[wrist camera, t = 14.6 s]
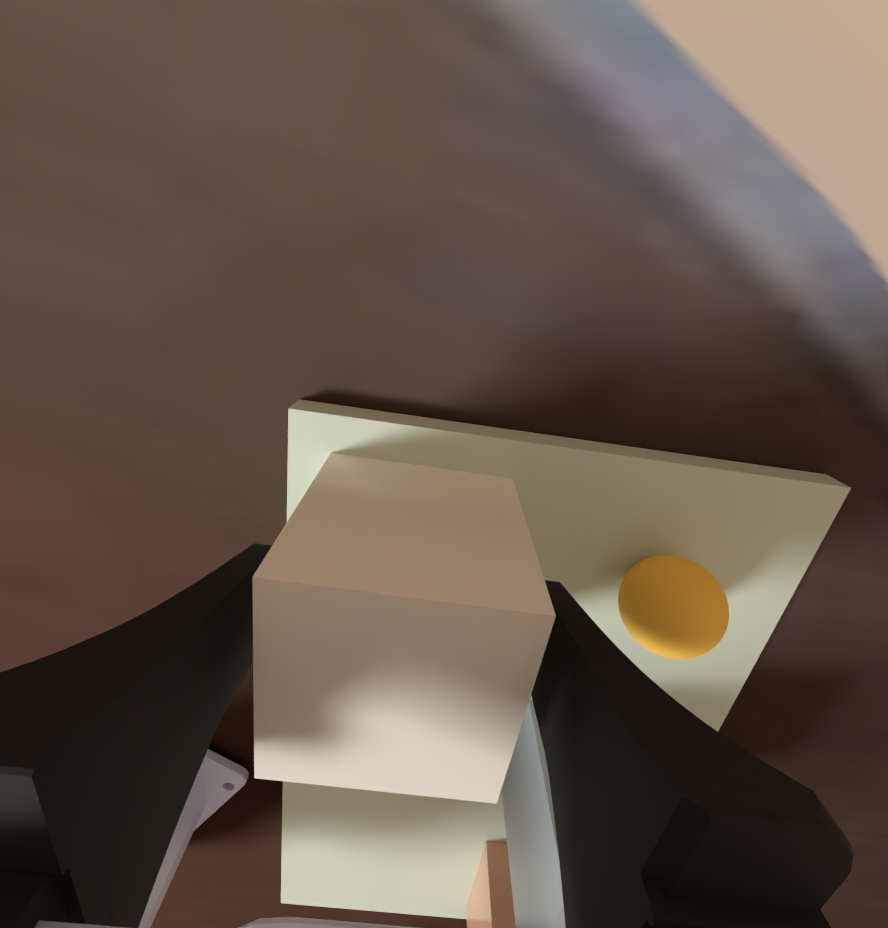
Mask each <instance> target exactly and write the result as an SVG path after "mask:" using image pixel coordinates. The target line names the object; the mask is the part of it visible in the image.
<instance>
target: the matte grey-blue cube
mask: <svg viewBox="0 0 888 928" xmlns="http://www.w3.org/2000/svg"><path fill="white" fill-rule="evenodd" d="M502 799H503V809H504V819H505V828H506V838H507V847H508V857H509V866H510V876H511V885H512V895H513V905H514V914H515V924H516V928H566V927H565V914H564V904H563V894H562V884H561V873H560V863H559V854H558V845H557V836H556V828H555V819H554V811H553V803H552V796H551V788H550V781H549V774H548V768H547V762H546V757H545V752H544V748H543V743H542V739H541V735H540V730H539V726H538V722H537V718H536V713H535V709H534V705H533V701H531V700H529V703H528V706H527V709H526V712H525V716H524V719H523V722H522V725H521V729H520V732H519V735H518V739H517V742H516V746H515V749H514V752H513V756H512V759H511V762H510V766H509V769H508V773H507V776H506V779H505V783H504V786H503V789H502Z"/></svg>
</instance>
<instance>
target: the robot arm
mask: <svg viewBox="0 0 888 928" xmlns="http://www.w3.org/2000/svg"><path fill="white" fill-rule="evenodd" d="M271 547H272V546H270V545H262V544H253V545H251V546H250V547H248V548H247V549H245V550H244V551H242V552H241V553H240V554H238V555H237V556H235V557H234V558H232V559H231V560H229V561H228V562H226V563H225V564H223V565H222V566H220V567H219V568H218V569H216V570H215V571H213V572H211V573H210V574H208V575H207V576H205V577H204V578H202V579H201V580H199V581H198V582H196V583H195V584H193V585H191V586H190V587H188V588H186V589H185V590H183V591H181V592H180V593H178V594H176V595H175V596H173V597H171V598H170V599H168V600H166V601H165V602H163V603H161V604H160V605H158V606H156V607H154V608H152V609H151V610H149V611H147V612H145V613H143V614H141V615H139V616H137V617H135V618H133V619H131V620H129V621H127V622H125V623H123V624H121V625H119V626H117V627H115V628H113V629H111V630H109V631H106V632H104V633H102V634H99V635H97V636H95V637H92V638H90V639H88V640H85V641H83V642H81V643H78V644H76V645H74V646H71V647H69V648H67V649H64V650H62V651H59V652H57V653H54V654H51V655H49V656H46V657H43V658H41V659H38V660H35V661H33V662H30V663H27V664H24V665H21V666H18V667H15V668H12V669H9V670H7V671H4V672H1V673H0V928H150V927H151V925H152V923H153V921H154V918H155V916H156V914H157V912H158V910H159V907H160V905H161V903H162V901H163V898H164V896H165V894H166V892H167V890H168V887H169V885H170V883H171V881H172V878H173V876H174V874H175V872H176V870H177V867H178V865H179V863H180V861H181V858H182V856H183V854H184V852H185V850H186V847H187V845H188V843H189V841H190V838H191V836H192V834H193V832H194V830H196V829H197V828H198V827H199V826H200V825H201V824H202V823H203V822H204V821H205V820H207V819H208V818H209V817H210V816H211V815H212V814H213V813H214V812H215V811H216V810H218V809H219V808H220V807H221V806H222V805H223V804H224V803H225V802H226V801H227V800H229V799H230V798H231V797H232V796H233V795H234V794H235V793H236V792H237V791H238V790H240V789H241V788H242V787H243V786H244V785H245V784H246V782H247V779H248V777H249V772H248V771H247V769H246V768H244V767H243V766H241V765H239V764H237V763H235V762H233V761H231V760H229V759H227V758H225V757H223V756H221V755H219V754H217V753H215V752H213V751H212V750H210V749H208V748H209V745H210V743H211V741H212V738H213V736H214V734H215V732H216V730H217V728H218V726H219V724H220V722H221V720H222V718H223V716H224V714H225V712H226V710H227V708H228V707H229V705H230V703H231V701H232V699H233V697H234V695H235V694H236V692H237V690H238V688H239V686H240V684H241V682H242V681H243V679H244V677H245V675H246V673H247V671H248V669H249V668H250V666H251V664H252V662H253V583H252V577H253V575H254V574H255V572H256V571H257V569H258V567H259V566H260V564H261V563H262V561H263V560H264V558H265V556H266V555H267V553H268V552H269V550H270V548H271ZM545 583H546V586H547V589H548V593H549V596H550V599H551V602H552V605H553V608H554V612H555V615H556V617H555V620H554V624H553V627H552V630H551V633H550V636H549V639H548V643H547V646H546V649H545V652H544V655H543V658H542V662H541V665H540V668H539V671H538V674H537V677H536V681H535V684H534V687H533V690H532V693H531V696H532V700H533V705H534V709H535V713H536V718H537V722H538V726H539V730H540V735H541V739H542V743H543V748H544V752H545V757H546V762H547V768H548V774H549V781H550V788H551V796H552V803H553V811H554V819H555V828H556V836H557V845H558V854H559V863H560V873H561V884H562V894H563V904H564V914H565V927H566V928H831V927H830V925H829V924H828V922H827V920H826V918H825V917H824V915H823V913H822V912H821V910H820V909H821V908H822V906H823V905H824V904H825V903H826V902H827V901H828V899H829V898H830V897H831V896H832V895H833V894H834V892H835V891H836V890H837V889H838V888H839V887H840V885H841V884H842V883H843V882H844V881H845V879H846V877H847V876H848V874H849V872H850V871H851V867H852V861H853V855H854V853H853V850H852V847H851V845H850V842H849V841H848V839H847V838H846V837H845V835H844V834H843V832H842V831H841V829H840V828H839V827H838V825H837V824H836V822H835V821H834V819H833V818H832V817H831V815H830V814H829V812H828V811H827V809H826V808H825V807H824V805H823V804H822V802H821V801H820V799H819V798H818V797H817V795H816V794H815V793H814V791H812V790H810V789H809V788H807V787H805V786H804V785H802V784H800V783H799V782H797V781H795V780H793V779H792V778H790V777H788V776H787V775H785V774H783V773H782V772H780V771H778V770H776V769H775V768H773V767H771V766H770V765H768V764H766V763H764V762H763V761H761V760H760V759H758V758H756V757H755V756H753V755H752V754H750V753H749V752H747V751H746V750H744V749H743V748H741V747H740V746H738V745H736V744H735V743H733V742H732V741H730V740H729V739H727V738H726V737H724V736H723V735H722V734H720V733H719V732H717V731H716V730H714V729H713V728H712V727H710V726H709V725H707V724H706V723H705V722H703V721H702V720H701V719H699V718H698V717H697V716H695V715H694V714H693V713H691V712H690V711H689V710H688V709H686V708H685V707H684V706H682V705H681V704H680V703H678V702H677V701H676V700H675V699H674V698H672V697H671V696H670V695H669V694H667V693H666V692H665V691H664V690H663V689H662V688H660V687H659V686H658V685H657V684H656V683H655V682H654V681H652V680H651V679H650V678H649V677H648V676H647V675H646V674H644V673H643V672H642V671H641V670H640V669H639V668H638V667H637V666H636V665H635V664H634V663H633V662H632V661H631V660H630V659H629V658H628V657H627V656H626V655H625V654H624V653H623V652H622V651H621V650H620V649H619V648H618V647H617V646H616V645H615V644H614V643H613V642H612V641H611V640H610V639H609V638H608V637H607V636H606V634H605V633H604V632H603V631H602V630H601V629H600V628H599V627H598V626H597V624H596V623H595V622H594V621H593V620H592V619H591V618H590V617H589V615H588V614H587V613H586V612H585V611H584V610H583V608H582V607H581V606H580V605H579V604H578V603H577V601H576V600H575V599H574V598H573V597H572V595H571V594H570V593H569V592H568V591H567V590H566V589H565V587H564V586H563V585H562V584H561V583H560V582H556V581H548V580H545ZM239 928H416V927H405V926H393V925H381V924H369V923H358V922H346V921H334V920H322V919H311V918H299V917H280V918H262V919H257V920H255V921H253V922H251V923H248V924H246V925H244V926H242V927H239Z"/></svg>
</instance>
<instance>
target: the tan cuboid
mask: <svg viewBox="0 0 888 928" xmlns="http://www.w3.org/2000/svg"><path fill="white" fill-rule="evenodd" d="M252 583H253V693H254V778H257V779H266V780H276V781H285V782H295V783H304V784H314V785H324V786H333V787H343V788H352V789H362V790H371V791H381V792H390V793H400V794H409V795H419V796H428V797H438V798H447V799H457V800H466V801H476V802H485V803H495V804H497V801H498V798H499V795H500V792H501V788H502V785H503V782H504V779H505V776H506V773H507V769H508V766H509V763H510V760H511V757H512V754H513V750H514V747H515V744H516V741H517V738H518V735H519V731H520V728H521V725H522V722H523V719H524V716H525V712H526V709H527V706H528V703H529V700H530V696H531V693H532V690H533V687H534V684H535V681H536V677H537V674H538V671H539V668H540V665H541V662H542V658H543V655H544V652H545V649H546V646H547V643H548V639H549V636H550V633H551V630H552V627H553V624H554V620H555V617H556V615H555V612H554V608H553V605H552V602H551V599H550V596H549V593H548V589H547V586H546V583H545V580H544V577H543V573H542V570H541V567H540V564H539V561H538V557H537V554H536V551H535V548H534V545H533V542H532V538H531V535H530V532H529V529H528V526H527V522H526V519H525V516H524V513H523V510H522V506H521V503H520V500H519V497H518V494H517V490H516V487H515V484H514V481H513V479H511V478H504V477H498V476H491V475H484V474H477V473H470V472H463V471H456V470H449V469H442V468H435V467H428V466H421V465H414V464H407V463H401V462H394V461H387V460H380V459H373V458H366V457H359V456H352V455H345V454H338V453H330V455H329V456H328V458H327V460H326V461H325V463H324V464H323V466H322V468H321V469H320V471H319V472H318V474H317V475H316V477H315V479H314V480H313V482H312V483H311V485H310V487H309V488H308V490H307V491H306V493H305V495H304V496H303V498H302V499H301V501H300V502H299V504H298V506H297V507H296V509H295V510H294V512H293V514H292V515H291V517H290V518H289V520H288V521H287V523H286V525H285V526H284V528H283V529H282V531H281V533H280V534H279V536H278V537H277V539H276V540H275V542H274V544H273V545H272V547H271V548H270V550H269V552H268V553H267V555H266V556H265V558H264V560H263V561H262V563H261V564H260V566H259V567H258V569H257V571H256V572H255V574H254V575H253V577H252Z"/></svg>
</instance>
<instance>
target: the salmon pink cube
mask: <svg viewBox="0 0 888 928" xmlns="http://www.w3.org/2000/svg"><path fill="white" fill-rule="evenodd" d="M466 908H467V928H516V924H515V914H514V905H513V895H512V885H511V876H510V866H509V857H508V847H507V842H496V841H486V843H485V846H484V849H483V853H482V856H481V859H480V862H479V866H478V869H477V872H476V876H475V879H474V882H473V886H472V889H471V892H470V895H469V899H468V902H467V905H466Z"/></svg>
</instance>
